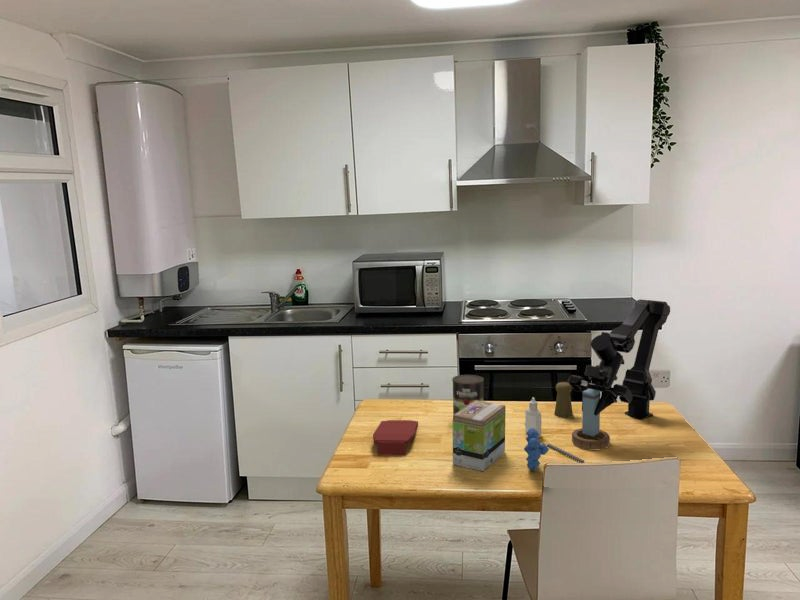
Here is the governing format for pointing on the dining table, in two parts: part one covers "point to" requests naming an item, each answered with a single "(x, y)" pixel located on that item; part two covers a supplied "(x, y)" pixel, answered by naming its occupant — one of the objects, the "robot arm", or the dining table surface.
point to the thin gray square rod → (564, 452)
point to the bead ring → (590, 444)
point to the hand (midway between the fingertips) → (588, 413)
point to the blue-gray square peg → (590, 412)
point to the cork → (563, 400)
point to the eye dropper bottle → (533, 417)
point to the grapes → (534, 449)
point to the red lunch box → (394, 436)
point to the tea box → (478, 435)
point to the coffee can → (466, 391)
